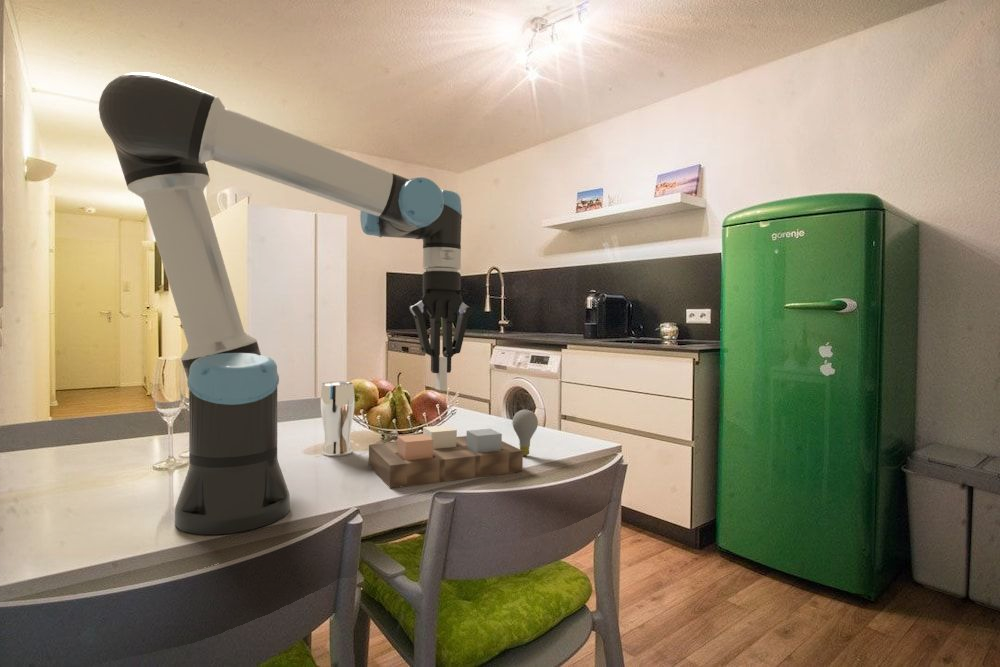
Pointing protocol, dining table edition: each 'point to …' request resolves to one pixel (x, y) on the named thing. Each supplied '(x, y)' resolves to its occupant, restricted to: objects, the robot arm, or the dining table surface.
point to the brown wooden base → (442, 464)
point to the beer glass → (337, 417)
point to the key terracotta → (414, 447)
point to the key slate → (484, 440)
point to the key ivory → (441, 436)
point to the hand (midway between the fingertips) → (440, 389)
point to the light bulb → (525, 428)
